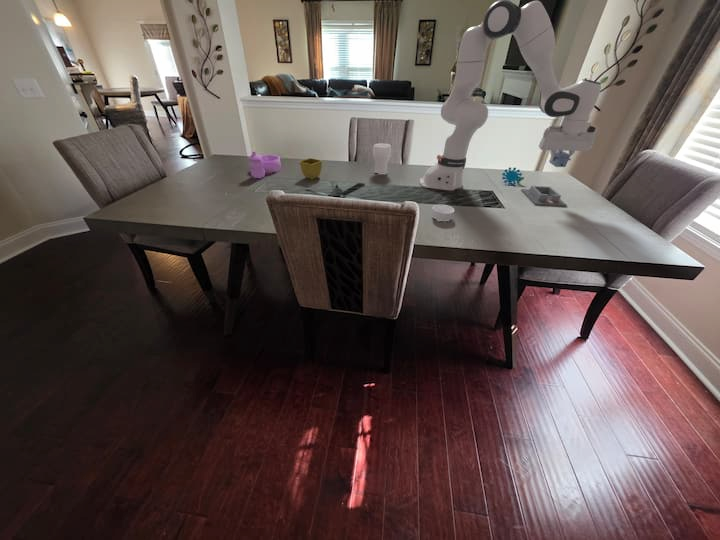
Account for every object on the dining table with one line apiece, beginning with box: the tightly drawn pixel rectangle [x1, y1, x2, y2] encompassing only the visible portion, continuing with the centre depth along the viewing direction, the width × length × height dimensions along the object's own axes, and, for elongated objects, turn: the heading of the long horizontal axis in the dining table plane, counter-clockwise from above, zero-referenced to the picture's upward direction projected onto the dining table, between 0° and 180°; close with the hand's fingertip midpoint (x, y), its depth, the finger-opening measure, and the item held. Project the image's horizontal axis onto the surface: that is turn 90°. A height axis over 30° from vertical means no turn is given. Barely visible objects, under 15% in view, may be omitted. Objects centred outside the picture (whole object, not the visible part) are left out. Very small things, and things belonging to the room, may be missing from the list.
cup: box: [372, 142, 393, 175], centre depth 159 cm, size 11×11×15 cm
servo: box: [548, 150, 572, 168], centre depth 125 cm, size 4×10×6 cm, turn 174°
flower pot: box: [299, 157, 323, 180], centre depth 153 cm, size 9×9×9 cm
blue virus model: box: [501, 167, 525, 186], centre depth 152 cm, size 11×6×10 cm
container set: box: [247, 151, 282, 179], centre depth 158 cm, size 25×15×13 cm, turn 173°
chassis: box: [520, 185, 568, 208], centre depth 135 cm, size 14×18×4 cm
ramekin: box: [431, 204, 455, 221], centre depth 117 cm, size 9×9×4 cm
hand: (558, 160), depth 126 cm, fingers closed on servo, 4 cm apart
